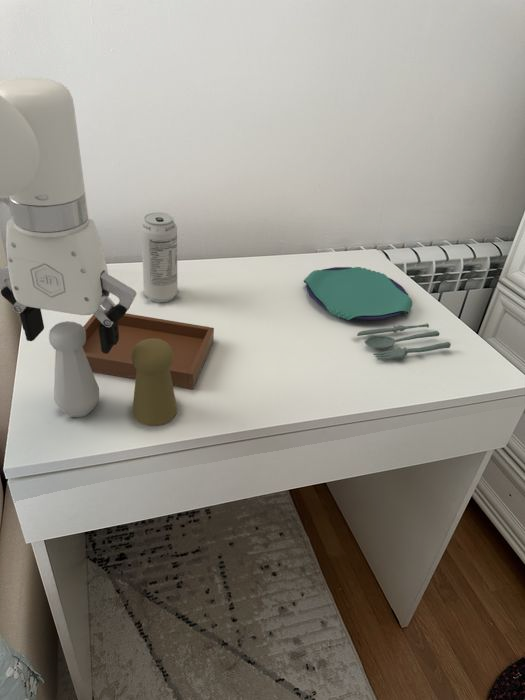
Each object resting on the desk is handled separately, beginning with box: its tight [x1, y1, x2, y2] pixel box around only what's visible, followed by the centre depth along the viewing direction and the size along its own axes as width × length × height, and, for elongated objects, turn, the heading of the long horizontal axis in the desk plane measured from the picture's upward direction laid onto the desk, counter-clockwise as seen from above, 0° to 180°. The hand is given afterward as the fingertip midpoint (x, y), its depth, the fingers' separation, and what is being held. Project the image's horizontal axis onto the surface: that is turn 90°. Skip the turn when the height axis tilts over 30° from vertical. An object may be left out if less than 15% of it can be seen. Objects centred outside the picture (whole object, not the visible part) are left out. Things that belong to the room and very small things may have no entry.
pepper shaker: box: [131, 338, 178, 427], centre depth 70 cm, size 6×6×11 cm
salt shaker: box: [48, 320, 100, 418], centre depth 69 cm, size 6×6×13 cm
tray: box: [82, 309, 215, 390], centre depth 83 cm, size 20×13×3 cm, turn 81°
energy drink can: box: [140, 212, 178, 303], centre depth 94 cm, size 6×6×15 cm
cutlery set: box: [303, 266, 452, 361], centre depth 99 cm, size 20×30×2 cm, turn 19°
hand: (72, 341), depth 67 cm, fingers open, 9 cm apart
